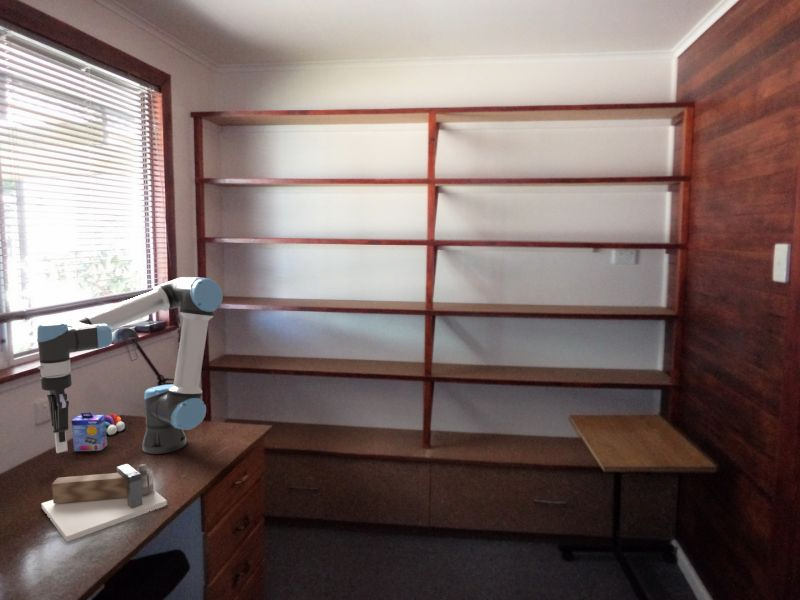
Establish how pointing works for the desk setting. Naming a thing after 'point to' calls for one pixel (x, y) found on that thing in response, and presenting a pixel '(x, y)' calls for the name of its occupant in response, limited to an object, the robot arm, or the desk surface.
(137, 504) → the bracket
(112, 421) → the multicoloured rounded cluster
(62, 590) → the desk surface
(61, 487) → the link
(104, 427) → the ink cartridge box
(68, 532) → the board
